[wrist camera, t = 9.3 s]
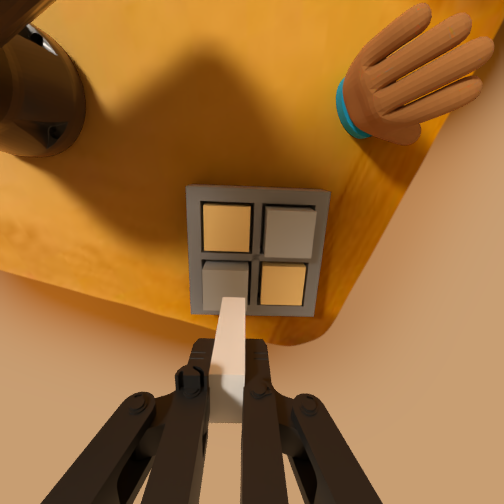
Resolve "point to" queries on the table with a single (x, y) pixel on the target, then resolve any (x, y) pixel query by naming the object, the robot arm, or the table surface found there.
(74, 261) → the table surface
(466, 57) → the toy
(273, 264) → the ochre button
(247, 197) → the button board
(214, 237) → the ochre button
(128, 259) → the table surface
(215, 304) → the grey button far left
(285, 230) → the grey button near right
